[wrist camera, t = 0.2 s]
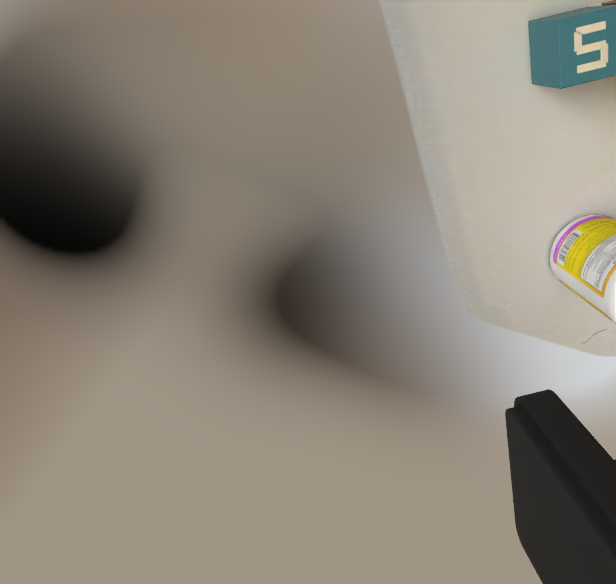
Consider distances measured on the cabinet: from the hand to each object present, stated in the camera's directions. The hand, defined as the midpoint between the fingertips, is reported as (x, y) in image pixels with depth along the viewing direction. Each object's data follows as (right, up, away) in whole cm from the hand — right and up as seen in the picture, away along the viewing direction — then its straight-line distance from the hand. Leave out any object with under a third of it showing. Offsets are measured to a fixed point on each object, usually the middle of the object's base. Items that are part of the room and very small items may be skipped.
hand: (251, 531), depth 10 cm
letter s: (+20, +22, +33) cm, 45 cm away
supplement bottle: (+25, +8, +41) cm, 48 cm away
